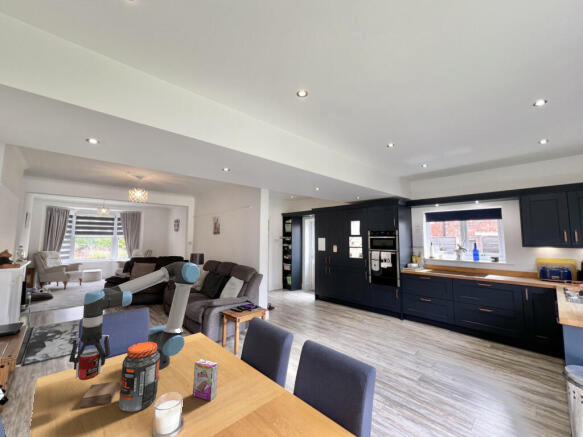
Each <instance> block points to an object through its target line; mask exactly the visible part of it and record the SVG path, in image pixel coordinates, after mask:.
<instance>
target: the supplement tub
mask: <svg viewBox="0 0 583 437" xmlns="http://www.w3.org/2000/svg"><path fill="white" fill-rule="evenodd" d="M159 361H160V355H159V352H158V351H157V344H156V343H154V342H148V341H145V342H138V343H136V344H133V345H131V346H129V347H128V348H127V353H126V356H125V357H124V359H123V361H122V364H121V378H120V385H119V388H120V390H119V398H118V407H119V410H121V411H124V412H130V413H131V412H138V411H142V410H144V409H145V408H148V407H149V406H150V405H152V404H153V403H154V402H155V401H156V397H157V396H158V395H157V393H158V384H159V372H160V370H159Z"/></svg>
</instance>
